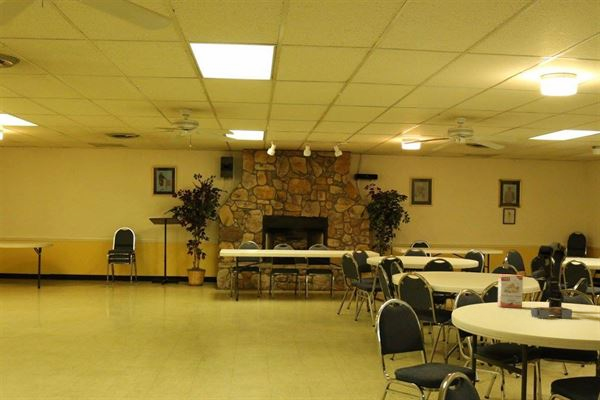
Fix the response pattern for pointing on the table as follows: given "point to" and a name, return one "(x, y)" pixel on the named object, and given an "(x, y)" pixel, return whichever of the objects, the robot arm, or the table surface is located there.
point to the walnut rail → (552, 310)
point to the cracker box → (510, 290)
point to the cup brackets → (545, 314)
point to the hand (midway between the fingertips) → (546, 292)
